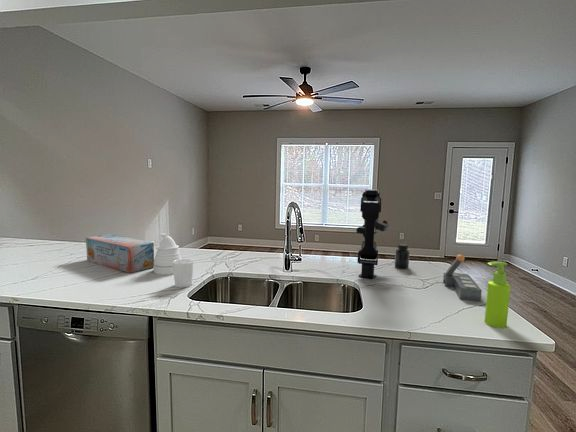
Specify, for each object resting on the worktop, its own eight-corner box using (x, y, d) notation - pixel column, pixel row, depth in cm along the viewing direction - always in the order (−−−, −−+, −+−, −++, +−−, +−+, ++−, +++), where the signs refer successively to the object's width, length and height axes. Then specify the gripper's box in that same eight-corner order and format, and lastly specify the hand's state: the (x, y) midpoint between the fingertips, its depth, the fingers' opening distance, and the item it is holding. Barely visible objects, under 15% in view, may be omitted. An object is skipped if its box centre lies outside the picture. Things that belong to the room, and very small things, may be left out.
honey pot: (163, 276, 146) (162, 236, 144) (148, 271, 154) (147, 233, 152) (188, 270, 156) (187, 233, 154) (172, 265, 164) (171, 230, 162)
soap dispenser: (477, 320, 106) (482, 259, 104) (497, 319, 106) (503, 259, 104) (490, 328, 100) (495, 264, 98) (511, 327, 101) (517, 264, 98)
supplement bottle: (409, 269, 165) (411, 246, 164) (395, 268, 166) (396, 245, 165) (407, 266, 172) (408, 243, 170) (393, 265, 173) (395, 243, 172)
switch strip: (451, 298, 125) (452, 286, 125) (442, 281, 146) (443, 271, 146) (480, 301, 122) (481, 289, 122) (467, 284, 143) (468, 273, 143)
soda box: (156, 268, 160) (155, 242, 158) (128, 274, 148) (127, 246, 147) (112, 256, 182) (111, 233, 181) (85, 260, 171) (84, 236, 169)
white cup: (197, 283, 137) (196, 260, 136) (185, 289, 129) (185, 264, 128) (181, 281, 139) (181, 258, 138) (169, 286, 132) (168, 262, 131)
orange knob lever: (441, 278, 141) (459, 253, 138) (440, 275, 144) (458, 252, 141) (448, 282, 140) (466, 258, 137) (447, 280, 143) (465, 256, 140)
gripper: (379, 217, 149) (377, 251, 151) (393, 214, 164) (391, 245, 165) (356, 215, 156) (355, 247, 157) (372, 213, 170) (370, 242, 172)
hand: (369, 245), depth 163 cm, fingers closed
